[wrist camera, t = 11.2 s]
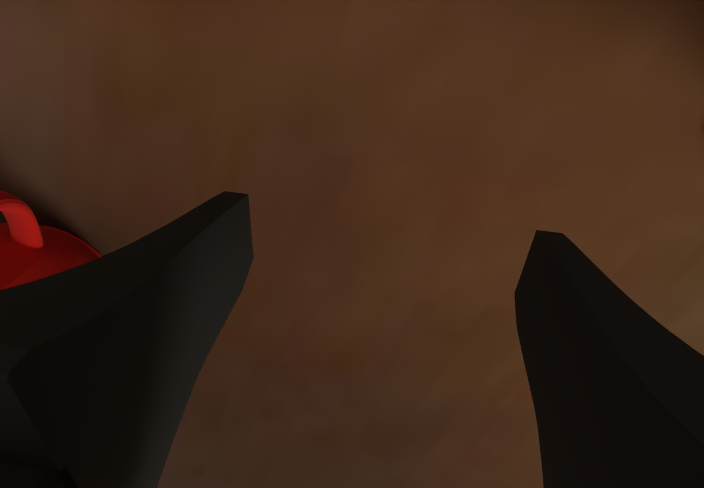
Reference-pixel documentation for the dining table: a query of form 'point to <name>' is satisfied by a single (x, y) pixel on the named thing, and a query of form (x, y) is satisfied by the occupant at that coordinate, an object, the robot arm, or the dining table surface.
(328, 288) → the dining table surface
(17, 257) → the ceramic cup
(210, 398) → the dining table surface
